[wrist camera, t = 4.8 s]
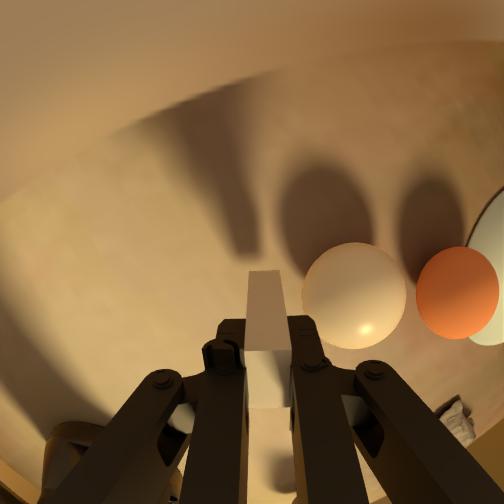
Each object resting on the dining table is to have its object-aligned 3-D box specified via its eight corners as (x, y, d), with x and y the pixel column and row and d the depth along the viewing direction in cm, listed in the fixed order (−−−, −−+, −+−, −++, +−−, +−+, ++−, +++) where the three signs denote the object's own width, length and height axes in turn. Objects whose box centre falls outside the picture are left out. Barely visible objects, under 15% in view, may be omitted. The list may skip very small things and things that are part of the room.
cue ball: (329, 384, 15) (379, 336, 18) (401, 334, 11) (439, 284, 15) (264, 304, 17) (324, 272, 20) (314, 234, 13) (372, 211, 17)
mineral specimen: (364, 461, 27) (369, 493, 23) (454, 394, 23) (470, 426, 19) (398, 471, 28) (405, 499, 24) (480, 410, 24) (494, 438, 20)
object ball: (422, 326, 20) (459, 372, 15) (387, 273, 18) (428, 317, 13) (476, 276, 19) (522, 311, 13) (449, 218, 17) (503, 244, 12)
